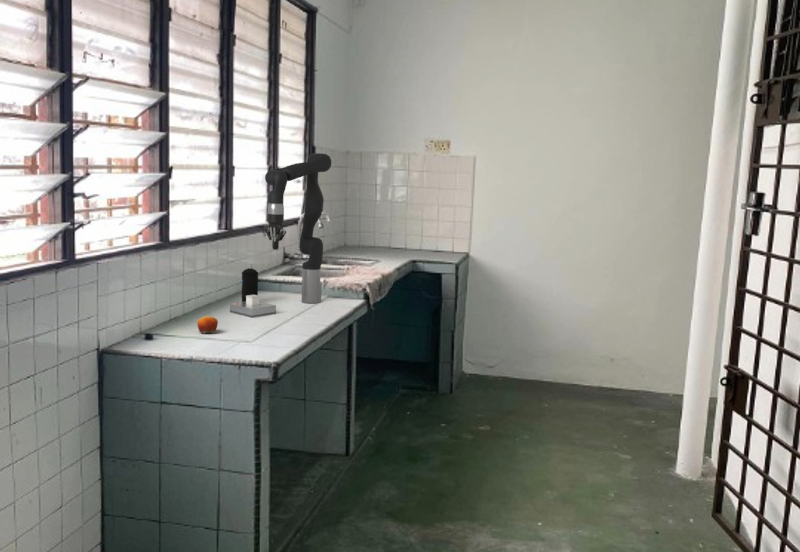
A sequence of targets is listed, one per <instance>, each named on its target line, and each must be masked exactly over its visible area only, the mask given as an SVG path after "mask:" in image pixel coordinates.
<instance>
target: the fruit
mask: <svg viewBox="0 0 800 552" xmlns="http://www.w3.org/2000/svg"><path fill="white" fill-rule="evenodd" d="M196 322H197V323H196V324H197V328H198V332H199V333H200V334H204V335H205V334H208V333H209V334H210V333H211V334H214V333H215V331H216V330H217V328H218V323H219V321H218V319H217V318H215V317H214V316H212V315H211V316H209V315H205V316H202V317H201V318H199V319H198V320H197V321H196Z"/></svg>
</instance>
